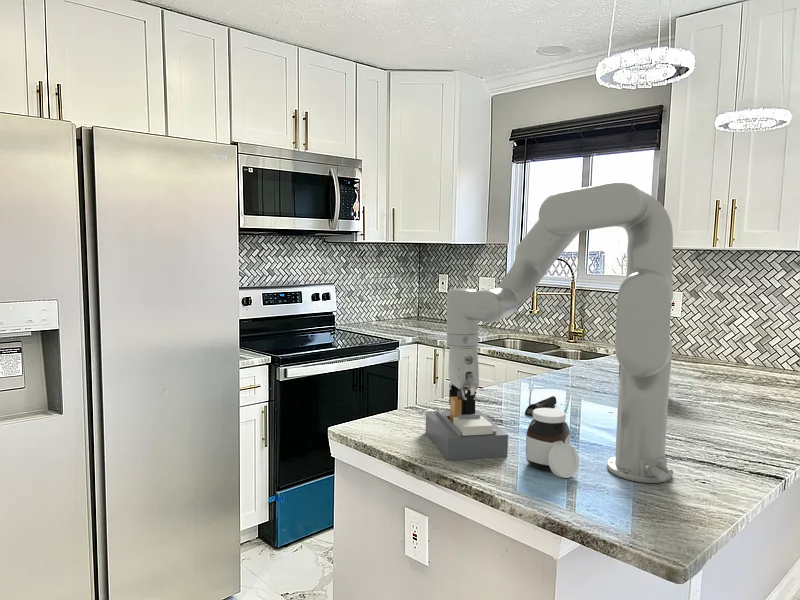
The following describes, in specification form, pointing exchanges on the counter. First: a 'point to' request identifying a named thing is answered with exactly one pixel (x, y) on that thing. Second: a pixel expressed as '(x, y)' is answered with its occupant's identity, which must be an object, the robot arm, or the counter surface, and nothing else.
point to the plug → (456, 405)
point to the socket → (464, 439)
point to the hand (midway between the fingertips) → (461, 410)
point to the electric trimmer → (541, 405)
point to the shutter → (472, 425)
